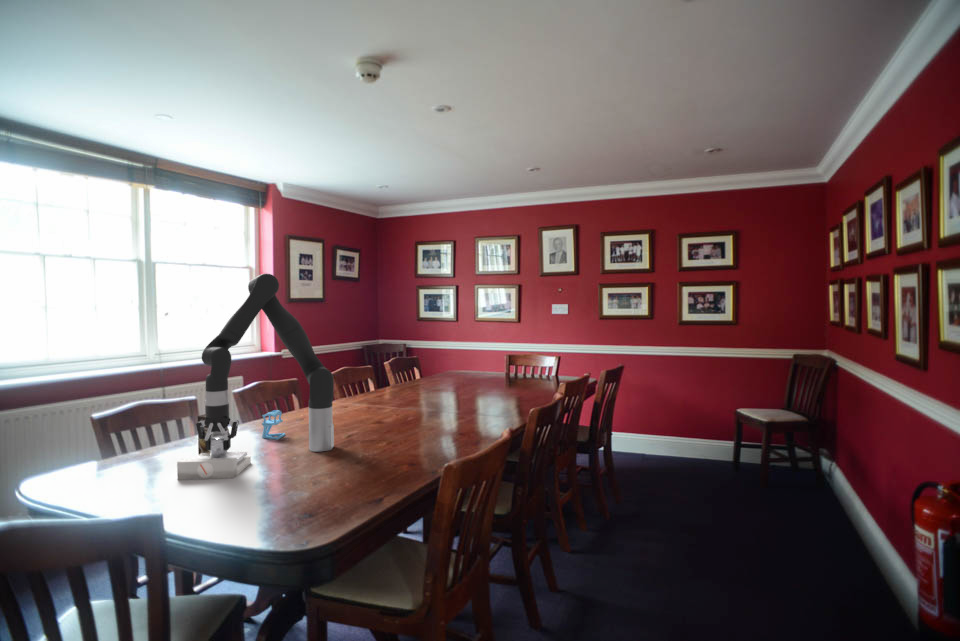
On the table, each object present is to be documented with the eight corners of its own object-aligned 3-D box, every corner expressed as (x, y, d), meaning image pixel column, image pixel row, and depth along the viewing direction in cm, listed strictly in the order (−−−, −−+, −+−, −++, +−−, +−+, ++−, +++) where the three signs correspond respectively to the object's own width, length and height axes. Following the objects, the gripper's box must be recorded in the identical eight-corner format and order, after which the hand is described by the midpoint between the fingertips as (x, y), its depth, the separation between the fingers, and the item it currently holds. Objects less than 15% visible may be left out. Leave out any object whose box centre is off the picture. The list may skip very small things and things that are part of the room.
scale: (250, 462, 184) (250, 446, 184) (233, 478, 168) (232, 461, 168) (199, 464, 183) (199, 448, 182) (176, 480, 166) (176, 462, 166)
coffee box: (197, 457, 191) (196, 415, 190) (213, 453, 197) (212, 412, 196) (212, 461, 187) (211, 418, 186) (228, 456, 192) (227, 414, 192)
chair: (267, 434, 224) (266, 408, 223) (285, 435, 224) (285, 408, 223) (259, 439, 216) (258, 412, 216) (278, 439, 216) (277, 412, 215)
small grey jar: (228, 452, 180) (228, 436, 180) (222, 456, 175) (222, 440, 175) (214, 453, 180) (213, 436, 179) (208, 457, 175) (207, 440, 174)
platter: (247, 454, 184) (247, 451, 184) (235, 464, 173) (235, 461, 173) (201, 456, 182) (201, 452, 182) (187, 466, 171) (186, 462, 171)
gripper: (242, 400, 181) (243, 446, 182) (200, 401, 180) (201, 447, 180) (234, 404, 174) (235, 452, 174) (190, 405, 172) (191, 454, 173)
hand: (218, 449), depth 177 cm, fingers open, 5 cm apart
